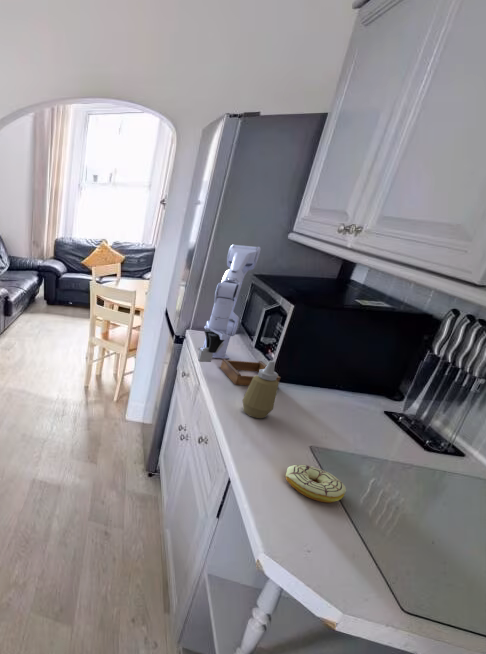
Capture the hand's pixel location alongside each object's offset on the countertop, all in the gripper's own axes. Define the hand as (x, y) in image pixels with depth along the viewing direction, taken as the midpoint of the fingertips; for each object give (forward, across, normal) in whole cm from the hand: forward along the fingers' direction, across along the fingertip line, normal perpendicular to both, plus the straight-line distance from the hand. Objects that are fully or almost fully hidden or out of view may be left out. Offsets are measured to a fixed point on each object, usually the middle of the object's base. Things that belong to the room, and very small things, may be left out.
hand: (210, 351), depth 144 cm
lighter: (+4, 0, 0) cm, 4 cm away
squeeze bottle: (+9, +28, +5) cm, 30 cm away
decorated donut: (+9, +61, +3) cm, 62 cm away
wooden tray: (+9, +2, +14) cm, 17 cm away
